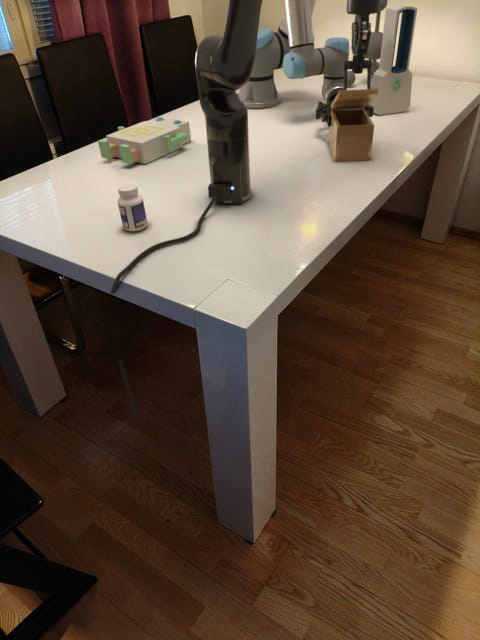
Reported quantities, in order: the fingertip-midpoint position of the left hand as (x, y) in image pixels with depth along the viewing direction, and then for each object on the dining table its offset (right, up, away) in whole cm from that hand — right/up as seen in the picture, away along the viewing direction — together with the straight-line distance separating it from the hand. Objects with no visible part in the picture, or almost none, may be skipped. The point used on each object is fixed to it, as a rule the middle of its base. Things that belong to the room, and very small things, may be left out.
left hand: (357, 72), depth 122 cm
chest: (+1, -15, +14) cm, 20 cm away
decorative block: (-57, -12, +22) cm, 62 cm away
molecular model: (+21, +33, +74) cm, 83 cm away
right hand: (+1, -7, +14) cm, 15 cm away
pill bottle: (-52, -42, -17) cm, 69 cm away
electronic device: (+20, +8, +43) cm, 48 cm away
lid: (0, -5, +6) cm, 8 cm away
